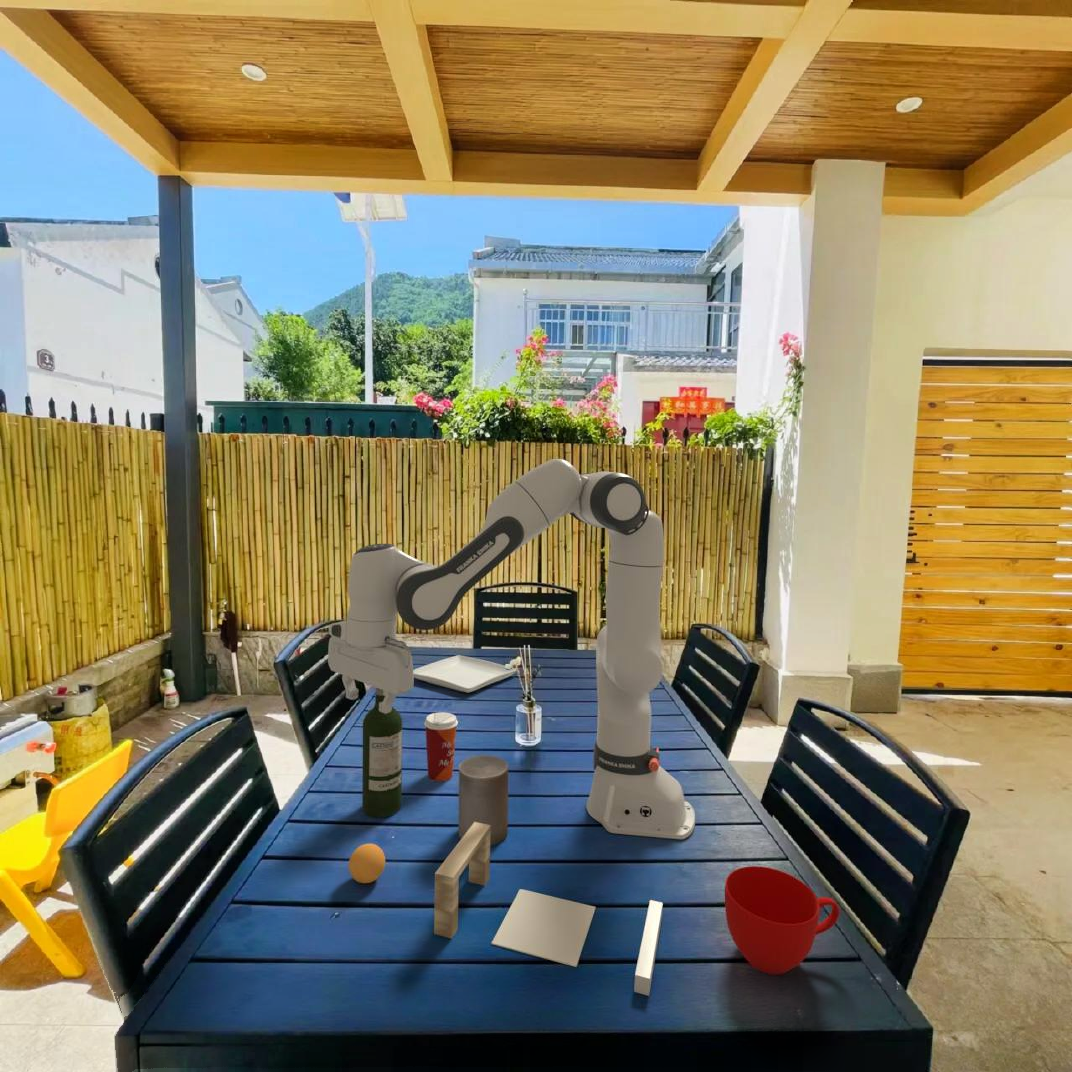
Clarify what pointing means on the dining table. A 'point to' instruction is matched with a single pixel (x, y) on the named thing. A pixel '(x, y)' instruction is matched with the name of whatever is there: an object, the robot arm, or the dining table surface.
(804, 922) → the ceramic cup
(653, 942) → the wall
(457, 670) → the square plate
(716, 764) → the dining table surface
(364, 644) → the robot arm
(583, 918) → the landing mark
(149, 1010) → the dining table surface
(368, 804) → the wine bottle
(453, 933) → the bridge
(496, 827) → the pillar candle
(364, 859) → the ball
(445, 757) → the paper cup
